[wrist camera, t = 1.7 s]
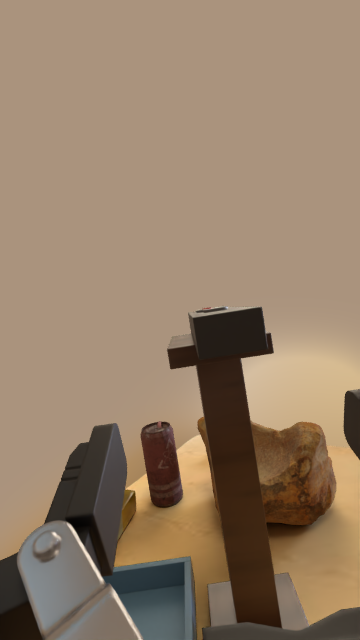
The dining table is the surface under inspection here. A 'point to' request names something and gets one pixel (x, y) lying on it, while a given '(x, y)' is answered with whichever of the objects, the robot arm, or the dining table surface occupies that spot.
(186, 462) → the dining table surface
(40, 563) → the robot arm
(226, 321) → the remote
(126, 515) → the medication box
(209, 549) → the dining table surface
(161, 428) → the can
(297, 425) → the rough brown rock
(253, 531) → the stand
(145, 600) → the tray
